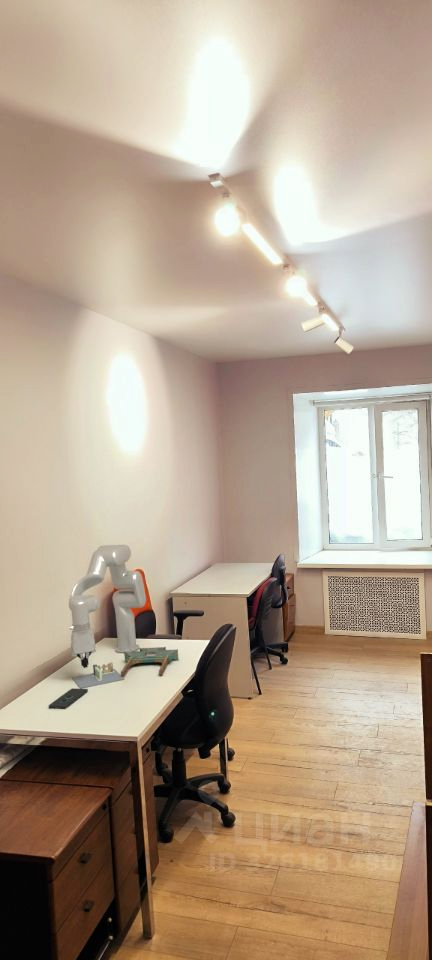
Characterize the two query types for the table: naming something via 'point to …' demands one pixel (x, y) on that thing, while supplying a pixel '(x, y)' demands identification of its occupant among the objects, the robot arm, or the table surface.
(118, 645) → the robot arm
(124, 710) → the table surface
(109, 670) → the fixed fence section
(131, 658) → the miniature gate
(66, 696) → the smart home device
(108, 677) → the card
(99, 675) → the folding fence panel
